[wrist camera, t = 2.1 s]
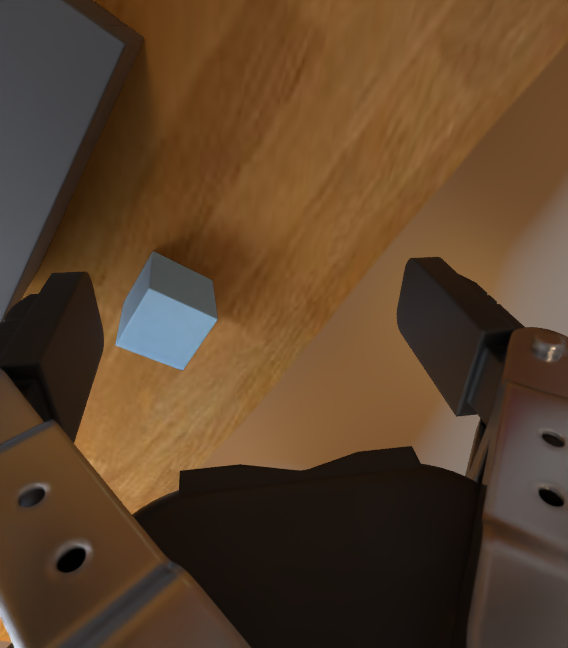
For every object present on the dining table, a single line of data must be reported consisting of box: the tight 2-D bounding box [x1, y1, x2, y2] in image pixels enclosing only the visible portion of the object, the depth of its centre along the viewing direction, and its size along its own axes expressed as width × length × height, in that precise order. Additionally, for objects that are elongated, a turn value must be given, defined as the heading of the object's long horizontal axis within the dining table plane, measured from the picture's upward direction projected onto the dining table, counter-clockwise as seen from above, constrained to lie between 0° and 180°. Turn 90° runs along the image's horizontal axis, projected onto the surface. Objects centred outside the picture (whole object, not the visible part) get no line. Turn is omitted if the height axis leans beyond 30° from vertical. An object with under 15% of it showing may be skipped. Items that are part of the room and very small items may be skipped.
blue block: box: [116, 251, 218, 370], centre depth 28 cm, size 4×4×5 cm
